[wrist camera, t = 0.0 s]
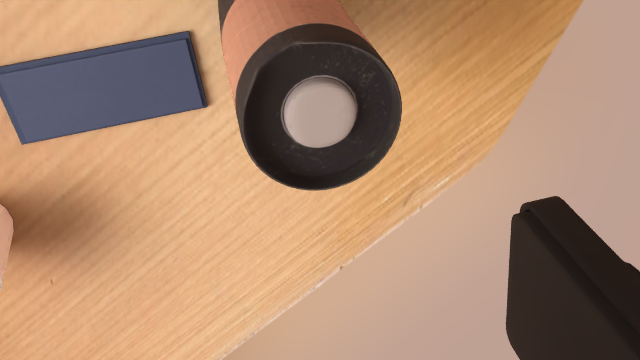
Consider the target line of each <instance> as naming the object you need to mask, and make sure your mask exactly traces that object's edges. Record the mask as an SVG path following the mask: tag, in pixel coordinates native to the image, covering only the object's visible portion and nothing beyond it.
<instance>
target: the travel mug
mask: <svg viewBox="0 0 640 360" xmlns="http://www.w3.org/2000/svg"><path fill="white" fill-rule="evenodd" d="M218 7H219V20H220V31H221V42H222V49H223V54H224V59H225V64H226V68H227V73H228V77H229V82H230V87H231V91H232V96H233V100H234V105H235V110H236V114H237V119H238V123H239V128H240V133H241V137H242V140H243V143H244V146H245V148H246V150H247V152H248V154H249V156H250V157H251V159H252V160H253V162H254V163H255V164H256V166H257V167H258V168H259V169H260V170H261V171H262V172H264V173H265V174H266V175H267V176H269V177H270V178H272V179H273V180H275V181H277V182H279V183H281V184H284V185H286V186H289V187H292V188H296V189H302V190H327V189H332V188H337V187H340V186H343V185H346V184H348V183H350V182H353V181H355V180H357V179H358V178H360V177H362V176H364V175H365V174H366V173H368V172H369V171H370V170H372V169H373V168H374V167H375V166H376V165H377V164H378V163H379V162H380V161H381V160H382V159H383V157H384V156H385V155H386V154H387V152H388V151H389V149H390V148H391V146H392V144H393V142H394V140H395V138H396V135H397V133H398V130H399V126H400V122H401V114H402V102H401V95H400V91H399V88H398V85H397V82H396V80H395V78H394V76H393V74H392V72H391V70H390V69H389V67H388V66H387V65H386V63H385V62H384V61H383V59H382V58H381V57H380V55H379V54H378V53H377V52H376V50H375V49H374V48H373V46H372V45H371V44H370V43H369V41H368V40H367V39H366V37H365V36H364V35H363V34H362V32H361V31H360V30H359V28H358V27H357V26H356V25H355V23H354V22H353V21H352V19H351V18H350V17H349V16H348V14H347V13H346V12H345V10H344V9H343V8H342V7H341V5H340V4H339V3H338V1H337V0H218Z"/></svg>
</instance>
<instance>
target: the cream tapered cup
mask: <svg viewBox="0 0 640 360" xmlns="http://www.w3.org/2000/svg"><path fill="white" fill-rule="evenodd" d="M13 231H14V228H13V219H12V217H11V216H10V214H9V213H8V211H7V209H6V208H5V207H3V206H2V205H1V204H0V290H1V288H2V284H3V279H4V274H5V270H6V265H7V260H8V255H9V250H10V246H11V241H12V236H13Z"/></svg>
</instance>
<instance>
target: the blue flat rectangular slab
mask: <svg viewBox="0 0 640 360" xmlns="http://www.w3.org/2000/svg"><path fill="white" fill-rule="evenodd" d="M0 97H1V99H2V101H3V104H4V106H5V108H6V110H7V112H8V115H9V117H10V119H11V121H12V123H13V126H14V128H15V130H16V132H17V134H18V137H19V139H20V141H21V143H22V144H27V143H32V142H37V141H42V140H47V139H52V138H57V137H62V136H67V135H72V134H77V133H82V132H86V131H91V130H96V129H101V128H106V127H111V126H116V125H121V124H126V123H131V122H136V121H141V120H146V119H151V118H156V117H161V116H166V115H171V114H175V113H180V112H185V111H190V110H195V109H200V108H205V107H207V102H206V98H205V94H204V90H203V86H202V82H201V78H200V74H199V70H198V66H197V63H196V59H195V55H194V51H193V47H192V43H191V39H190V35H189V31H186V32H180V33H175V34H170V35H165V36H159V37H154V38H149V39H143V40H138V41H133V42H128V43H122V44H117V45H112V46H106V47H101V48H96V49H91V50H85V51H80V52H75V53H69V54H64V55H59V56H54V57H48V58H43V59H38V60H32V61H27V62H22V63H17V64H11V65H6V66H1V67H0Z"/></svg>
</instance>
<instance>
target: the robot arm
mask: <svg viewBox="0 0 640 360" xmlns="http://www.w3.org/2000/svg"><path fill="white" fill-rule="evenodd" d="M508 278H509V279H508V296H507V297H508V298H507V315H506V330H507V335H508V338H509V341H510V344H511V346H512V348H513V349H514V351H515V352H516V354H517V355H518V357H519V359H520V360H640V272H639V270H637V269H636V268H635V267H634V266H632V265H631V264H629V263H627V262H624V261H623V260H622V259H621V258H619V256H618V255H617V254H616V253H615V252H614V251H613V250H612V249H611V248H610V247H609V246H608V245H607V244H606V243H605V242H604V241H603V240H602V239H601V238H600V237H599V236H598V235H597V234H596V233H595V232H594V231H593V230H592V229H591V228H590V227H589V226H588V225H587V224H586V223H585V222H584V221H583V220H582V219H581V218H580V217H579V216H578V215H577V214H576V213H575V212H574V210H573V209H572V208H570V207H569V205H568V204H567V203H566V202H565V201H564V200H562V199H561V198H560V197H557V196H553V197H549V198H545V199H540V200H536V201H532V202H527V203H524V204H523V205H522V206H521V209H520V213H518V214H515V215H513V217H512V221H511V240H510V258H509V277H508Z"/></svg>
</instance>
